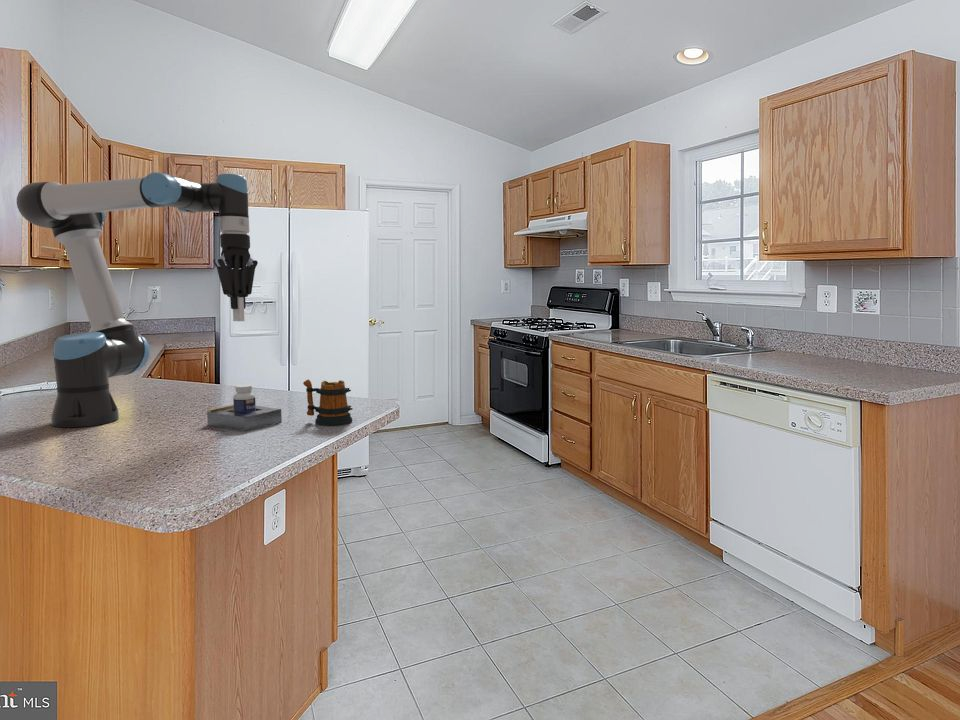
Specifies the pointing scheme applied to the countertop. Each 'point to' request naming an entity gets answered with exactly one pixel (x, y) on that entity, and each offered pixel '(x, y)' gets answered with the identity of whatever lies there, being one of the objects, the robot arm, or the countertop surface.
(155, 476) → the countertop surface
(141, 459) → the countertop surface
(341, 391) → the mug
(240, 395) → the pill bottle
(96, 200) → the robot arm
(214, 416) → the jig
